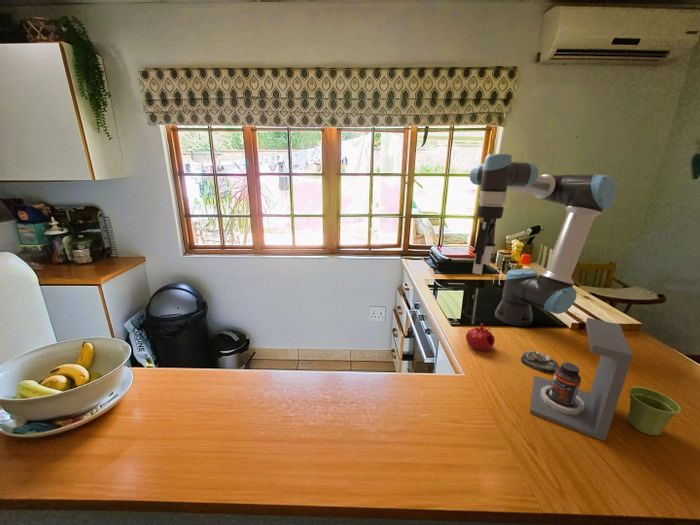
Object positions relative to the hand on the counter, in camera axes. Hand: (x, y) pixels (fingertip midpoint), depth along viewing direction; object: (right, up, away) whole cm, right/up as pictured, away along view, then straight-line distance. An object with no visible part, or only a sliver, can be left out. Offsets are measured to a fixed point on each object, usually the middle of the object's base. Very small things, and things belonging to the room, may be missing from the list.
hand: (481, 268), depth 102 cm
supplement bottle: (+15, -37, -17) cm, 44 cm away
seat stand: (+16, -38, -17) cm, 45 cm away
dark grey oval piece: (+21, -34, +2) cm, 40 cm away
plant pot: (+32, -41, -24) cm, 57 cm away
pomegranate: (+4, -30, +12) cm, 33 cm away
